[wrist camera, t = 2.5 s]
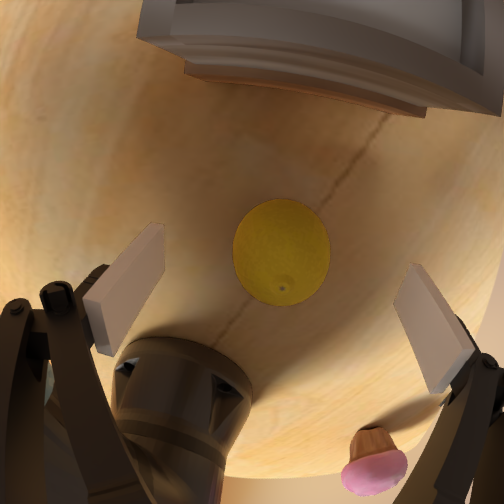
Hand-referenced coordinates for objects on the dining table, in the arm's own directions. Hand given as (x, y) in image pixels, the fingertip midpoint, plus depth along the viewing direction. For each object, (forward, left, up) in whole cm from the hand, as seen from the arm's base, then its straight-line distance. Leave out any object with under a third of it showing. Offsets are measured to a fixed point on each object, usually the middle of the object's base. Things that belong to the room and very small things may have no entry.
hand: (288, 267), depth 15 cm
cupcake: (-28, -18, -6) cm, 34 cm away
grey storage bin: (+15, 0, -6) cm, 16 cm away
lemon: (0, 0, -6) cm, 6 cm away
